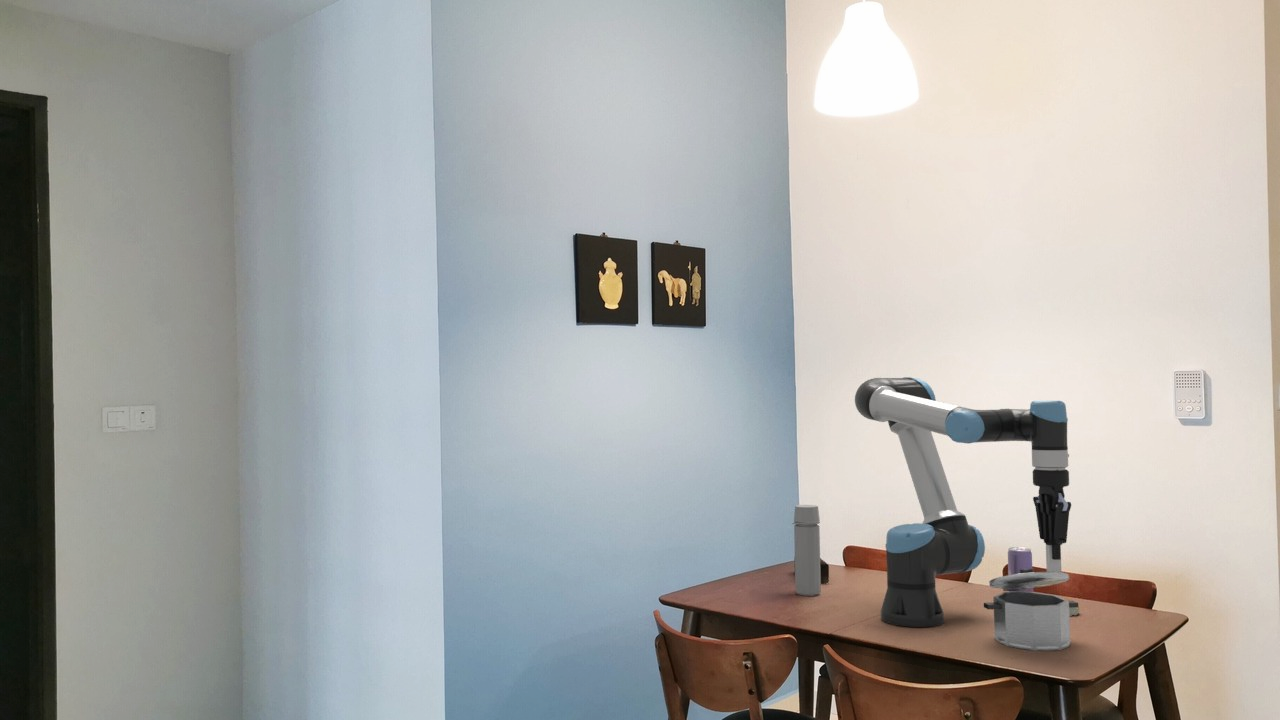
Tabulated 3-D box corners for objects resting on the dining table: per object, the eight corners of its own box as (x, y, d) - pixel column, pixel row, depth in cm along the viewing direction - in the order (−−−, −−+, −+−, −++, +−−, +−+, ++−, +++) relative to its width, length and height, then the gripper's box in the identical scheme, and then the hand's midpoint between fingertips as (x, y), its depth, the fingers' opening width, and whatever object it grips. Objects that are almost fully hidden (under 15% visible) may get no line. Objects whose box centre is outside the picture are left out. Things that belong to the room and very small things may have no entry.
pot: (1002, 652, 198) (1000, 607, 198) (971, 633, 214) (970, 592, 214) (1095, 649, 199) (1093, 605, 199) (1058, 631, 215) (1056, 590, 215)
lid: (1007, 578, 199) (1005, 563, 200) (978, 592, 214) (976, 577, 216) (1083, 576, 200) (1080, 561, 201) (1048, 590, 215) (1045, 576, 217)
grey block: (1061, 608, 239) (1060, 593, 239) (1085, 616, 230) (1084, 600, 230) (1033, 610, 237) (1033, 594, 237) (1056, 618, 228) (1056, 602, 228)
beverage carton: (818, 572, 292) (818, 552, 292) (830, 585, 273) (829, 562, 273) (793, 573, 292) (793, 552, 293) (803, 585, 273) (803, 563, 273)
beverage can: (1035, 608, 238) (1034, 550, 239) (1011, 607, 239) (1009, 550, 240) (1030, 603, 244) (1029, 547, 244) (1007, 602, 245) (1005, 546, 246)
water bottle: (827, 595, 257) (825, 506, 259) (803, 597, 254) (801, 508, 256) (809, 589, 266) (807, 503, 267) (786, 591, 263) (784, 504, 264)
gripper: (1081, 470, 199) (1085, 578, 198) (1052, 466, 212) (1055, 567, 211) (1048, 471, 199) (1052, 579, 198) (1021, 466, 212) (1024, 568, 211)
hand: (1054, 573), depth 205 cm, fingers closed
